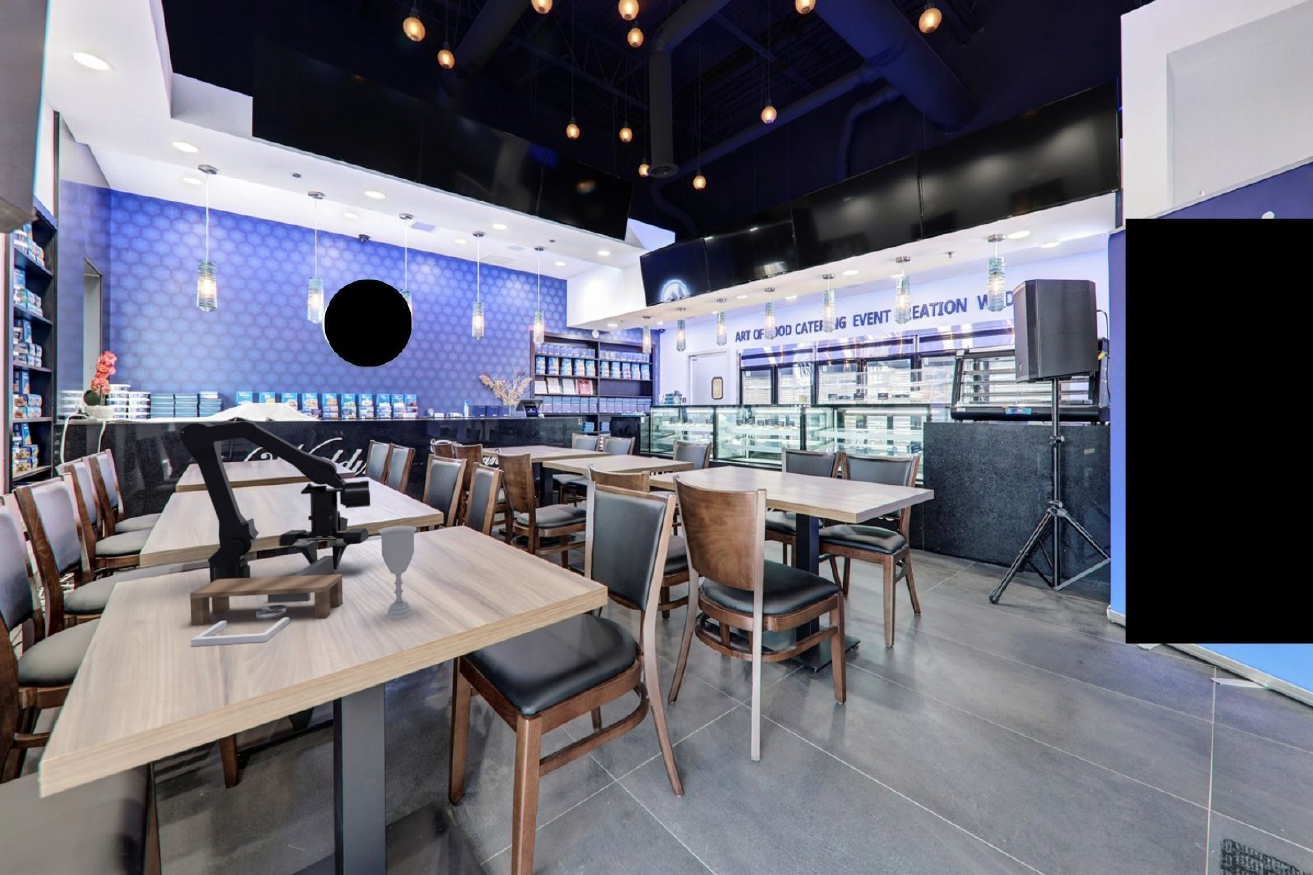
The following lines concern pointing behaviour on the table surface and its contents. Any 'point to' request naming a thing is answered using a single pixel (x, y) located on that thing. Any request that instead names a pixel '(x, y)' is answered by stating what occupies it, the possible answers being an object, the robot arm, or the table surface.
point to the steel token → (271, 611)
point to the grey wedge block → (317, 568)
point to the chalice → (398, 563)
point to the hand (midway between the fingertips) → (325, 570)
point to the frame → (209, 639)
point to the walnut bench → (266, 593)
